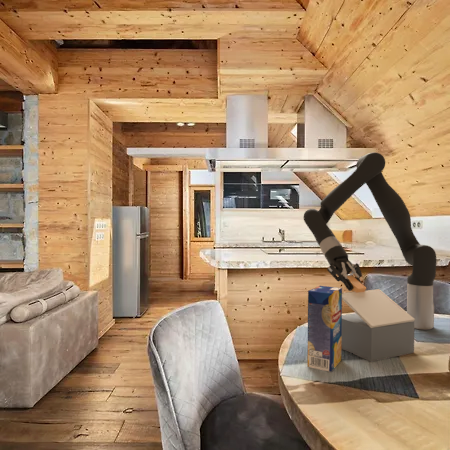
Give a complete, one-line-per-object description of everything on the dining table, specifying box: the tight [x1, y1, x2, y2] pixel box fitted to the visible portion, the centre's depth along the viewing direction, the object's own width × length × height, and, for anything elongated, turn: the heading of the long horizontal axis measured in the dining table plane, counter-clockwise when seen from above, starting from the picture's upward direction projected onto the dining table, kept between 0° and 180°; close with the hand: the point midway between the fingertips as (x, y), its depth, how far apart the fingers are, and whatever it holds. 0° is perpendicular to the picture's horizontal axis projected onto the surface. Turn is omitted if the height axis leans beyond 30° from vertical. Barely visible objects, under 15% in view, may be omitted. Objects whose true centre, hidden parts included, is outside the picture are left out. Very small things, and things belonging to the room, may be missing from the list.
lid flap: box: [342, 275, 415, 328], centre depth 122 cm, size 19×23×2 cm
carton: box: [341, 312, 415, 363], centre depth 120 cm, size 19×16×10 cm
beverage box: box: [306, 285, 343, 373], centre depth 107 cm, size 7×11×22 cm, turn 147°
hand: (356, 288), depth 127 cm, fingers closed on lid flap, 4 cm apart
